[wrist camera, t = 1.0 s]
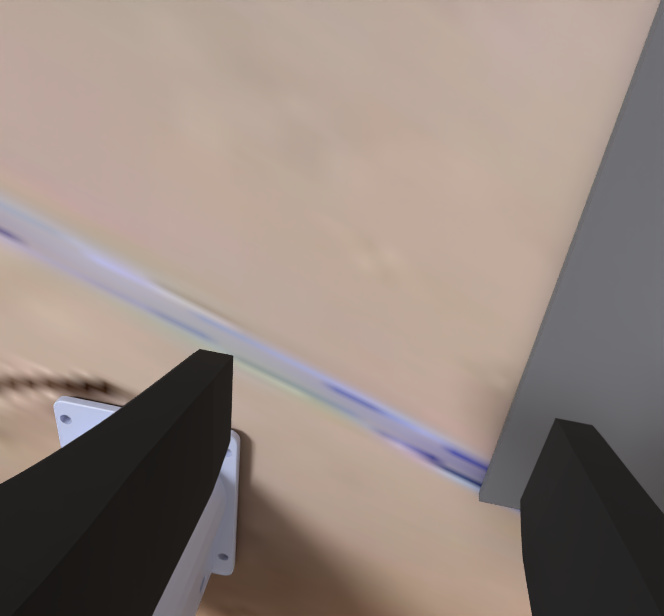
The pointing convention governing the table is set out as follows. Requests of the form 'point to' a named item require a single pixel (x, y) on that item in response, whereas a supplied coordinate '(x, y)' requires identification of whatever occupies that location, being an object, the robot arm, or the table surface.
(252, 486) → the table surface
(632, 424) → the mat
